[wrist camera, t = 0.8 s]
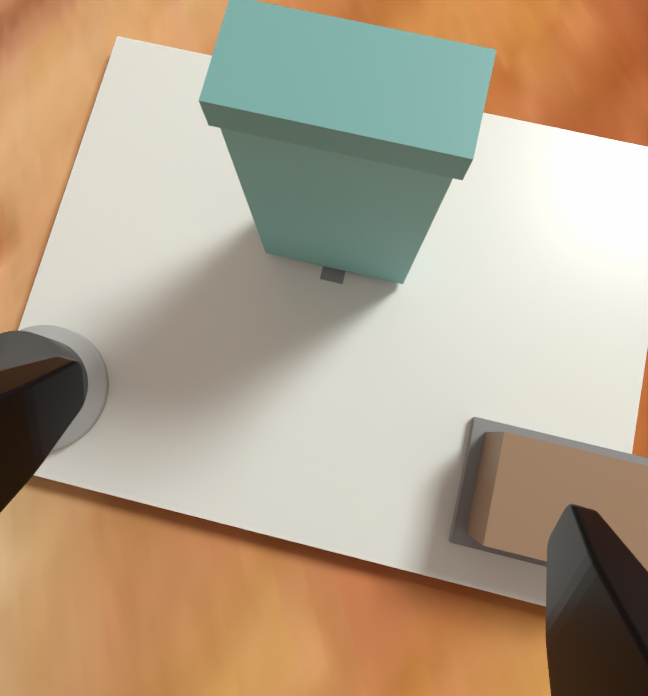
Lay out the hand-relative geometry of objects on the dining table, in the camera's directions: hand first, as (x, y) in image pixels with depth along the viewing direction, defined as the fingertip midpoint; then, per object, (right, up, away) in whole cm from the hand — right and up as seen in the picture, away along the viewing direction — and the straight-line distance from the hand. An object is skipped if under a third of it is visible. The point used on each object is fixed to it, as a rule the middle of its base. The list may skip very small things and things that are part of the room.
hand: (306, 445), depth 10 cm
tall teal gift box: (+1, +6, +13) cm, 15 cm away
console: (+1, +4, +14) cm, 15 cm away
